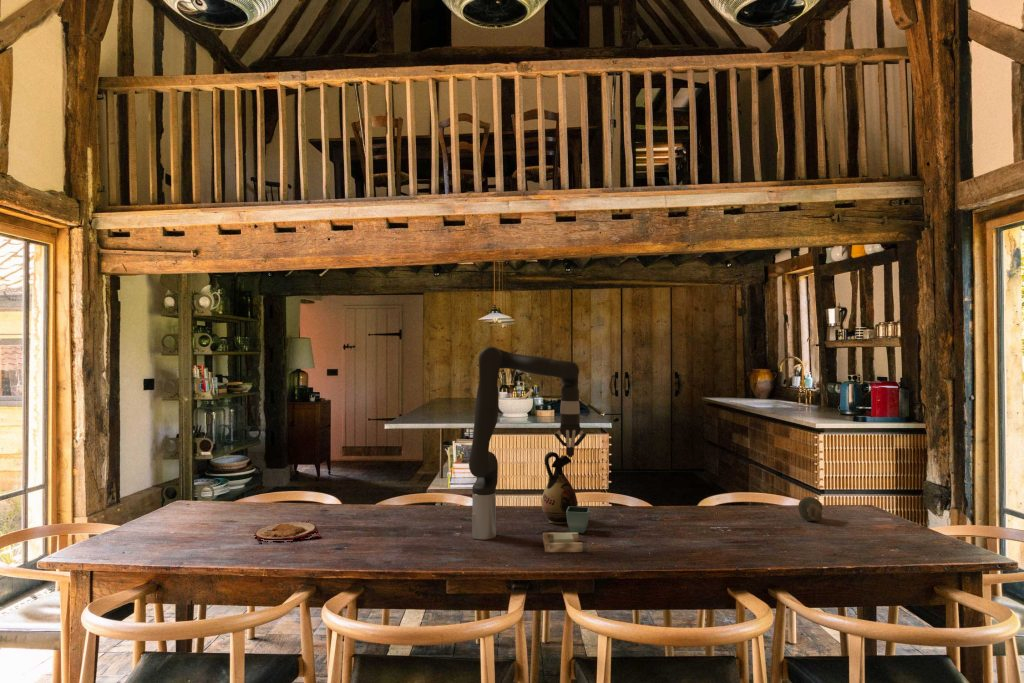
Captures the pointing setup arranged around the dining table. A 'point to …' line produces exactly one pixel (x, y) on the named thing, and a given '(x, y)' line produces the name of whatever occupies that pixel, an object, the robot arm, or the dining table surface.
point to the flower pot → (577, 518)
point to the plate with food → (287, 531)
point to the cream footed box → (562, 537)
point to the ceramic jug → (558, 491)
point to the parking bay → (562, 544)
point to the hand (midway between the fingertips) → (570, 456)
